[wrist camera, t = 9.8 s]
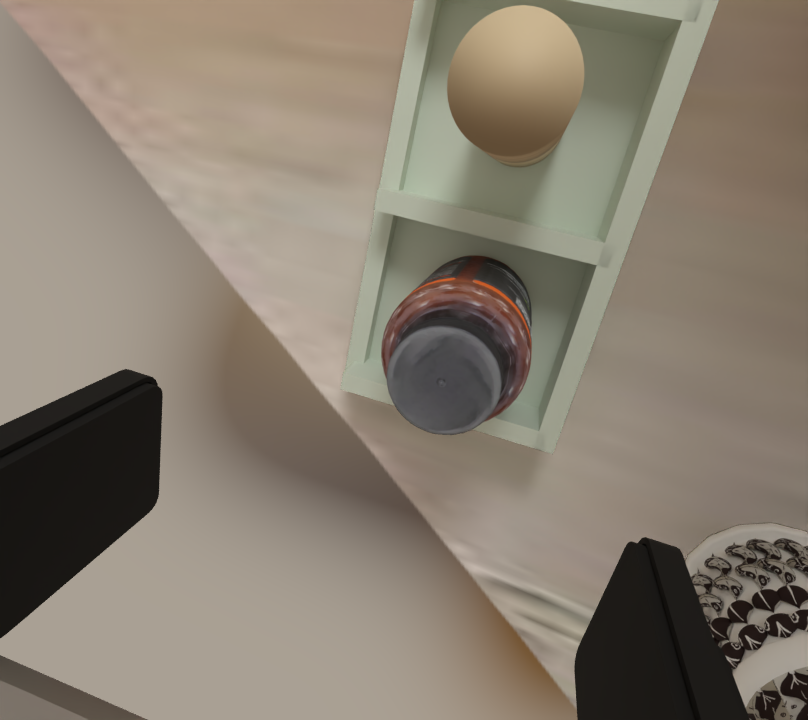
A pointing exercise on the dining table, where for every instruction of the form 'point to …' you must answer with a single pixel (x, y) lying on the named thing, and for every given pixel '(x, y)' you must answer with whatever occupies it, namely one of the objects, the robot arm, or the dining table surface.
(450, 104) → the beige rounded cylinder
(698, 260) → the dining table surface
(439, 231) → the rack
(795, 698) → the decorative candle
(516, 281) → the supplement bottle
